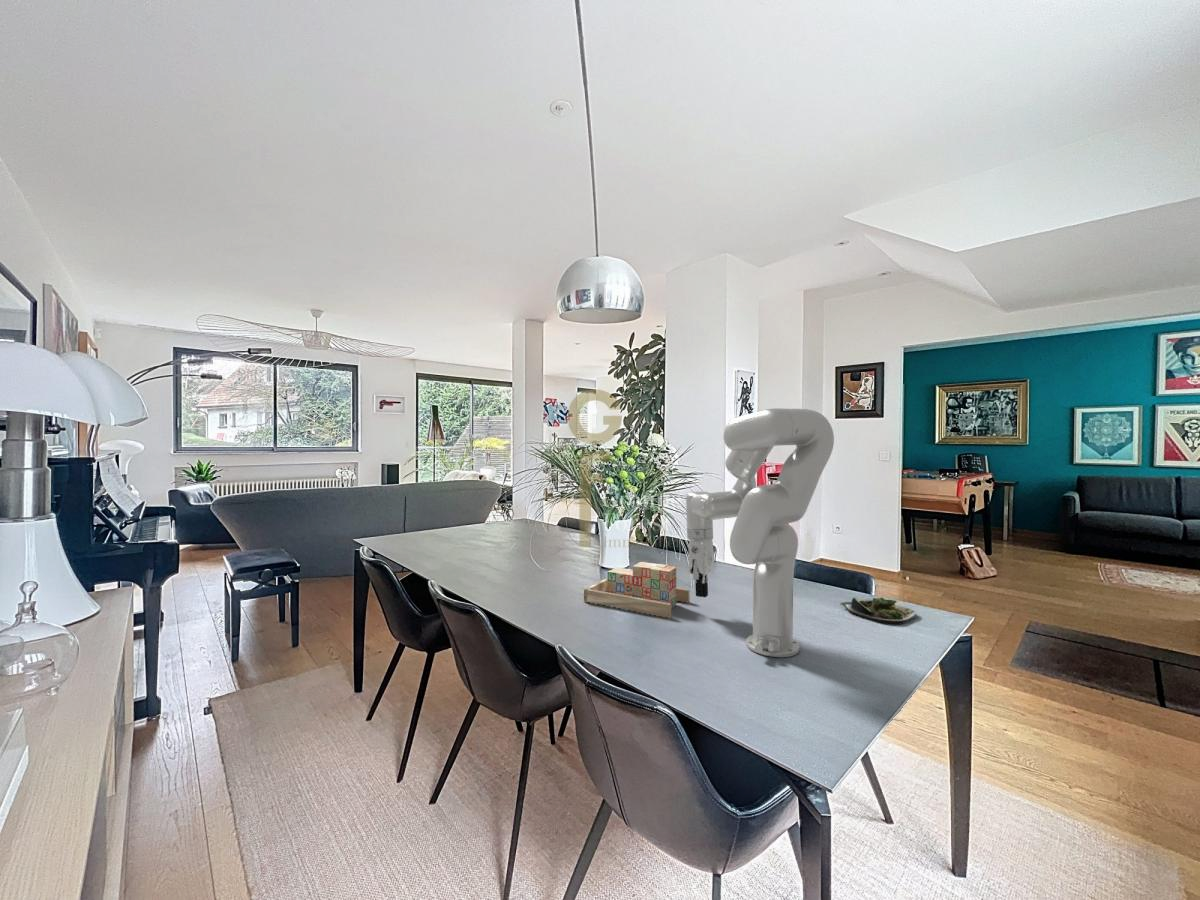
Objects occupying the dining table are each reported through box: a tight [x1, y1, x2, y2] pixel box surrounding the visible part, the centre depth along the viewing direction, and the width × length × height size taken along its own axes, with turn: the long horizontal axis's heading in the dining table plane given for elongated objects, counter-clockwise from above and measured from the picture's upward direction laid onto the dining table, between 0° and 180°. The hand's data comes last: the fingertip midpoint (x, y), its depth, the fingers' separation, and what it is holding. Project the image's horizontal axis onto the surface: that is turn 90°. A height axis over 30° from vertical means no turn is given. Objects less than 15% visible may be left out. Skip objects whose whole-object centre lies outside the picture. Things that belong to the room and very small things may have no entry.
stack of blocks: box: [607, 561, 677, 609], centre depth 163 cm, size 21×6×12 cm, turn 60°
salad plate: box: [839, 597, 917, 626], centre depth 154 cm, size 19×18×5 cm
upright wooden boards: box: [583, 577, 691, 619], centre depth 163 cm, size 16×29×4 cm, turn 60°
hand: (701, 595), depth 152 cm, fingers closed
